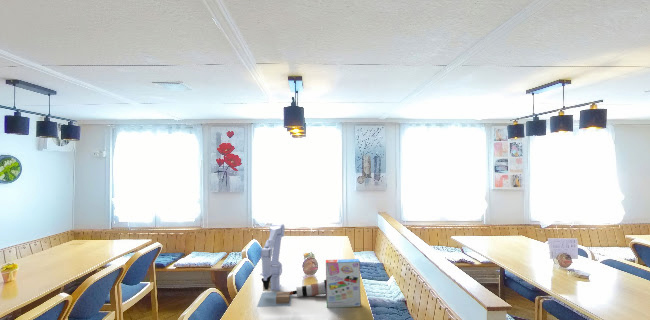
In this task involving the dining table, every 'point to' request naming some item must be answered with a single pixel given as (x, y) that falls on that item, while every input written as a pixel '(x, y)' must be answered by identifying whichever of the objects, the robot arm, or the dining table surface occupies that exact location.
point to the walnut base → (282, 297)
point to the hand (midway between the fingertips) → (267, 287)
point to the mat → (271, 300)
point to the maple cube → (268, 288)
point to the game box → (343, 283)
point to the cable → (310, 290)
